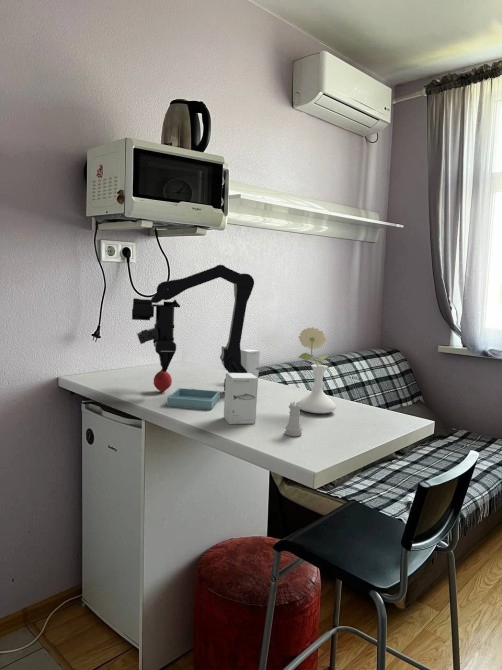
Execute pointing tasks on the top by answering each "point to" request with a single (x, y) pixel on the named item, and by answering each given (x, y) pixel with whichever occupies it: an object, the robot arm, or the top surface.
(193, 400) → the tray
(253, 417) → the supplement box
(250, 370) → the skincare box
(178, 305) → the robot arm
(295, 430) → the rook chess piece
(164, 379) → the onion
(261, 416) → the top surface
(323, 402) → the flower in vase
